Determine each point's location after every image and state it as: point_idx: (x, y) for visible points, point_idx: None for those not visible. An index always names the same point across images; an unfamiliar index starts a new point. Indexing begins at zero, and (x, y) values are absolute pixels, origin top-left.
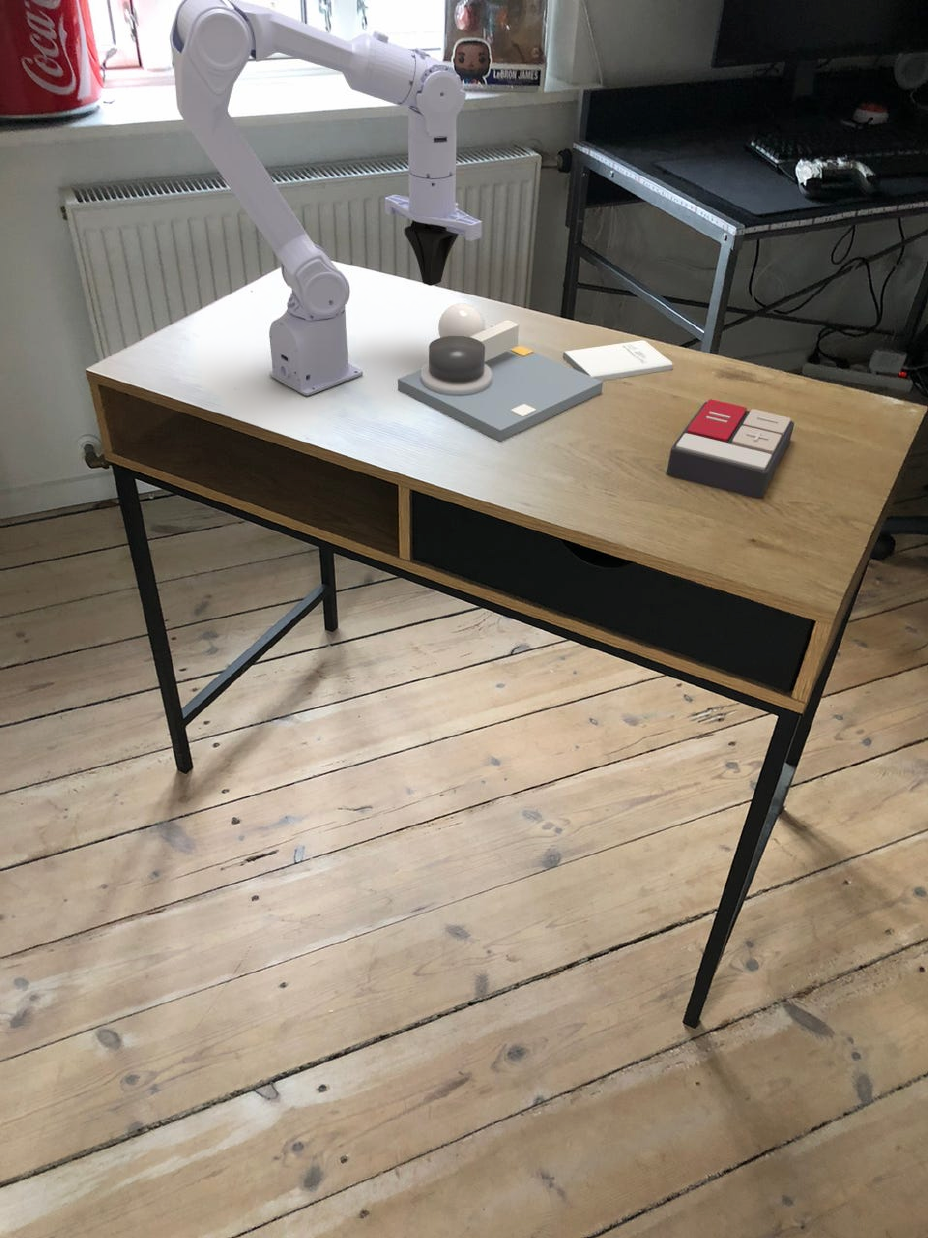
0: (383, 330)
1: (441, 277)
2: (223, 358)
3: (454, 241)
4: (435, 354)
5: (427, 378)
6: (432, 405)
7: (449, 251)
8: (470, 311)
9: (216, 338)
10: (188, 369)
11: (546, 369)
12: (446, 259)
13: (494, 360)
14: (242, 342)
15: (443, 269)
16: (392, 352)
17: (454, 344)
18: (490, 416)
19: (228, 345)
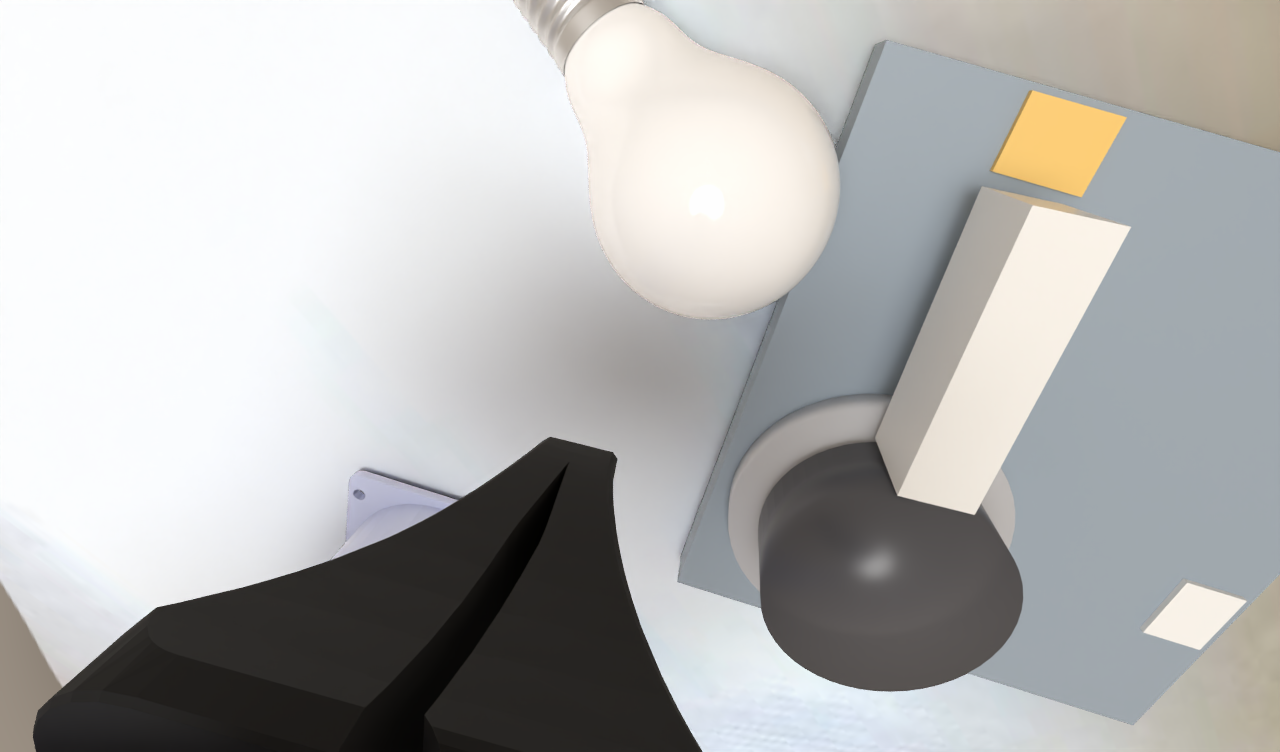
0: (344, 186)
1: (613, 470)
2: (188, 585)
3: (664, 683)
4: (828, 677)
5: None
6: None
7: (632, 603)
8: (774, 237)
9: (69, 504)
10: None
11: (1234, 265)
12: (619, 550)
13: None
14: (131, 495)
15: (612, 497)
16: (501, 341)
17: (862, 583)
18: (1074, 672)
19: (126, 524)
